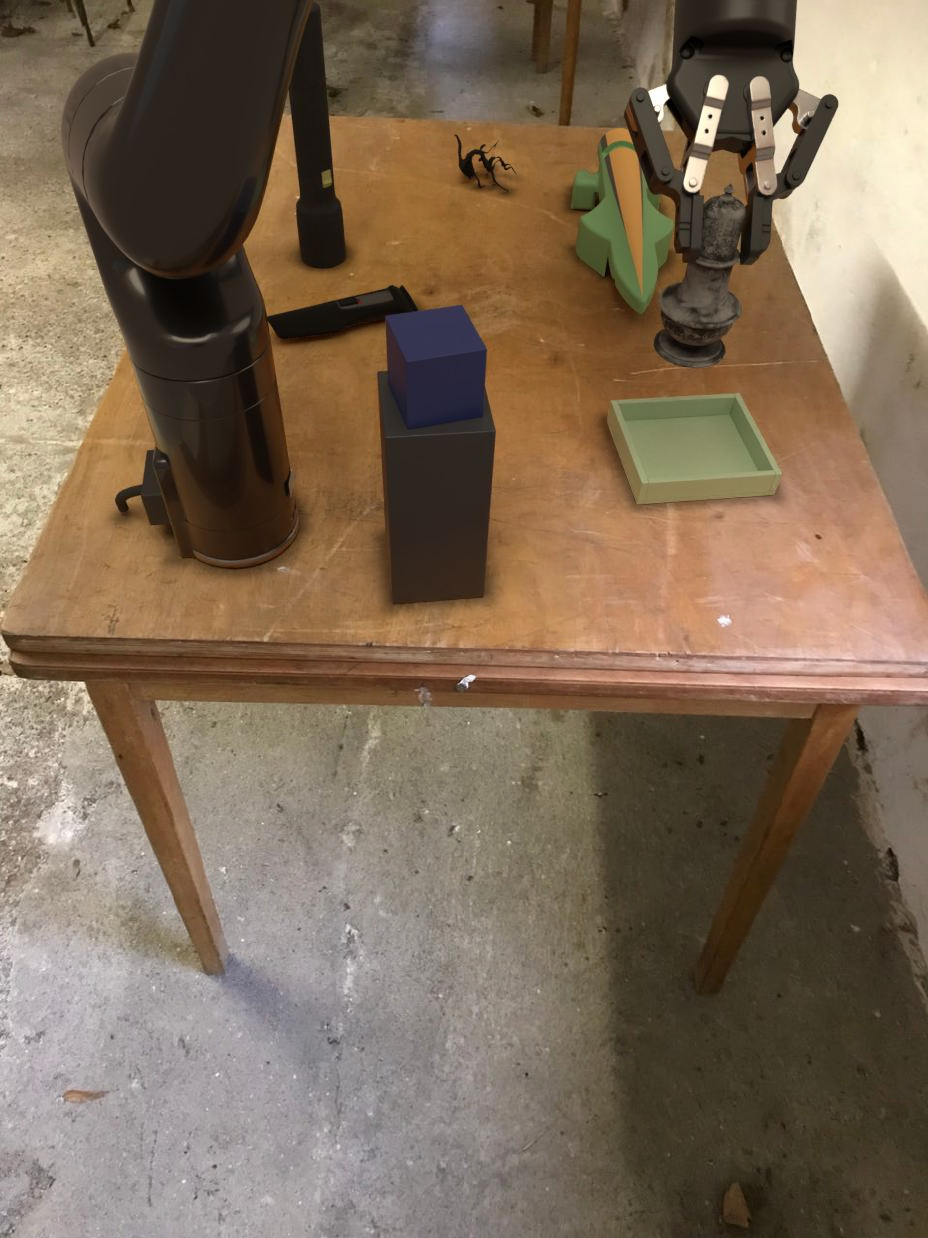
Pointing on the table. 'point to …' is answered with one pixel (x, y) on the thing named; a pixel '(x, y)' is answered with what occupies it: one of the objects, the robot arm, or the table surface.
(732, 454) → the pale tray
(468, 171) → the creature
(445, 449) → the dark stand
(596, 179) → the toy spaceship
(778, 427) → the table surface
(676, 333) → the dark grey chess piece
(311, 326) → the electric trimmer
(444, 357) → the navy block
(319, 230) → the flashlight
